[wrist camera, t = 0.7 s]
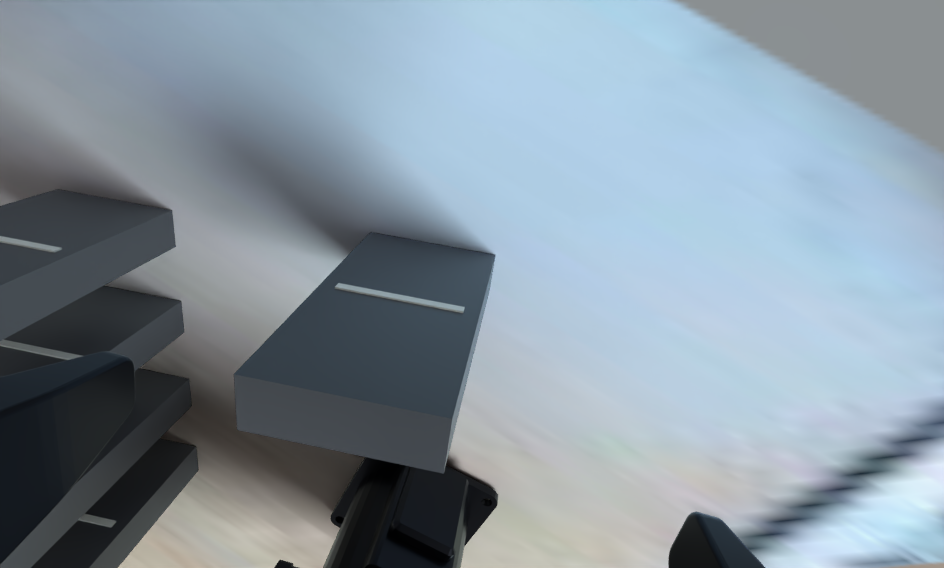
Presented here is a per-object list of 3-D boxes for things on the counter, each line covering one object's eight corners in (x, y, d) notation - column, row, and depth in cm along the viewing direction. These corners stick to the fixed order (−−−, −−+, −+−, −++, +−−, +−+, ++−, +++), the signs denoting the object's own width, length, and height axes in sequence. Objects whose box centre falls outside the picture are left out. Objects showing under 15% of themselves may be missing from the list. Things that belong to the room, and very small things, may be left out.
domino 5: (488, 292, 21) (443, 475, 12) (368, 270, 22) (236, 432, 13) (495, 253, 21) (452, 416, 12) (370, 230, 21) (233, 372, 12)
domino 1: (175, 247, 22) (-78, 385, 13) (65, 226, 23) (-255, 346, 14) (171, 209, 22) (-99, 326, 13) (57, 187, 22) (-286, 287, 13)
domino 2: (184, 333, 24) (-34, 505, 15) (81, 312, 25) (-192, 469, 16) (181, 299, 24) (-51, 459, 14) (75, 279, 24) (-216, 422, 15)
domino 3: (191, 406, 26) (0, 599, 17) (96, 386, 26) (-142, 565, 17) (188, 377, 25) (-13, 563, 16) (90, 357, 26) (-162, 528, 17)
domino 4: (198, 470, 28) (28, 676, 19) (108, 451, 28) (-102, 644, 19) (195, 445, 27) (17, 646, 18) (103, 426, 27) (-117, 614, 18)
